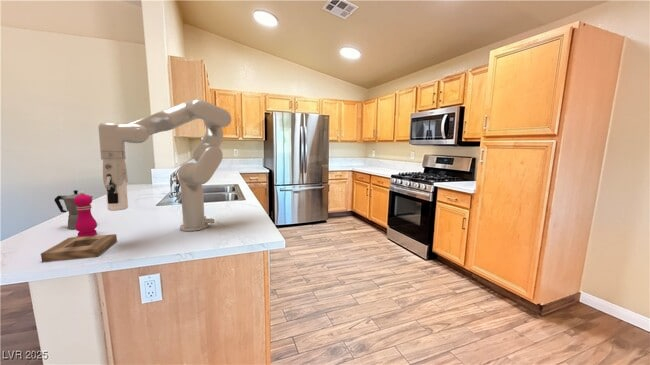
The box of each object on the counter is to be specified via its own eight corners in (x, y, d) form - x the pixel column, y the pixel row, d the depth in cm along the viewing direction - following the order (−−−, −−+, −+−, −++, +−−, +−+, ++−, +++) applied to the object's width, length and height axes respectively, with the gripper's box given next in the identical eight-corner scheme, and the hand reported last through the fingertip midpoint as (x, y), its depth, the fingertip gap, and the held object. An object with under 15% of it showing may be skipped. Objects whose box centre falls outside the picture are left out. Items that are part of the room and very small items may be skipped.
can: (132, 208, 108) (129, 178, 107) (115, 211, 102) (112, 180, 101) (120, 206, 110) (118, 177, 109) (103, 209, 104) (100, 179, 103)
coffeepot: (101, 223, 136) (97, 188, 133) (89, 228, 127) (85, 191, 124) (65, 224, 133) (60, 189, 130) (51, 230, 124) (45, 192, 121)
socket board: (117, 241, 112) (116, 234, 112) (97, 256, 97) (96, 248, 97) (69, 244, 107) (68, 237, 107) (41, 261, 92) (40, 253, 92)
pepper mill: (85, 239, 114) (79, 193, 111) (71, 237, 115) (65, 192, 112) (102, 233, 121) (97, 190, 118) (89, 232, 122) (84, 189, 119)
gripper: (115, 156, 96) (119, 206, 99) (132, 155, 112) (135, 197, 115) (90, 156, 94) (94, 207, 96) (111, 154, 110) (114, 198, 112)
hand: (116, 201), depth 105 cm, fingers closed on can, 5 cm apart
